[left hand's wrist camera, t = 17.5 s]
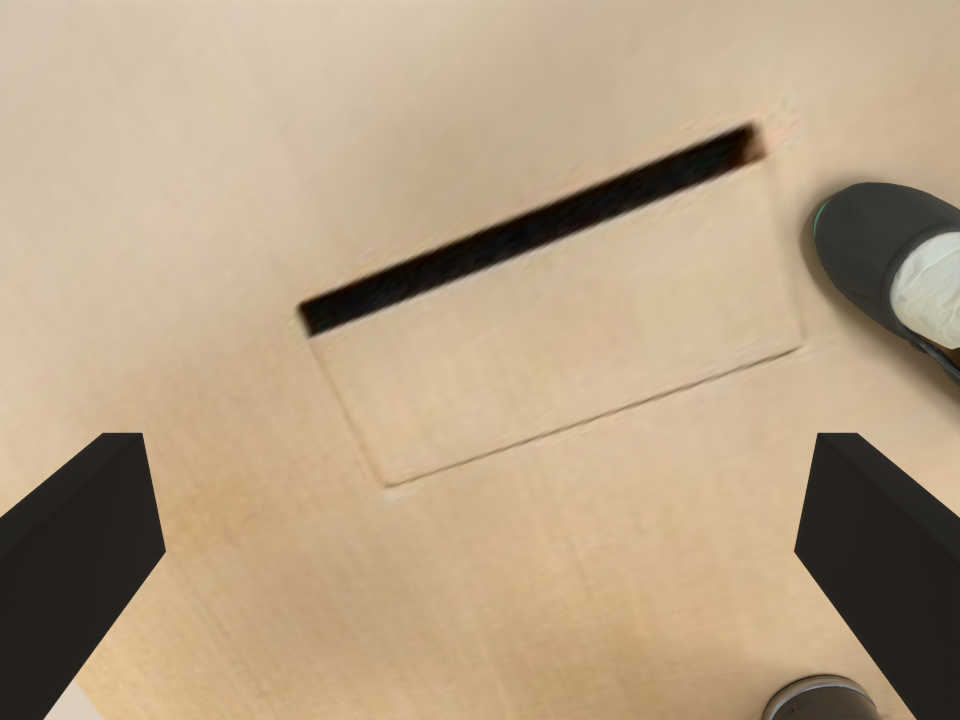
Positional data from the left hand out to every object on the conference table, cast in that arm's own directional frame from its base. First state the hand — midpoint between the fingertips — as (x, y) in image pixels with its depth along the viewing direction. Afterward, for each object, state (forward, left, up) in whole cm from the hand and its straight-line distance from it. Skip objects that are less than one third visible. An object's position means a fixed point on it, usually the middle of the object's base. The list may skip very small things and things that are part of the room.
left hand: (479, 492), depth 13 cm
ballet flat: (-4, +32, -32) cm, 45 cm away
